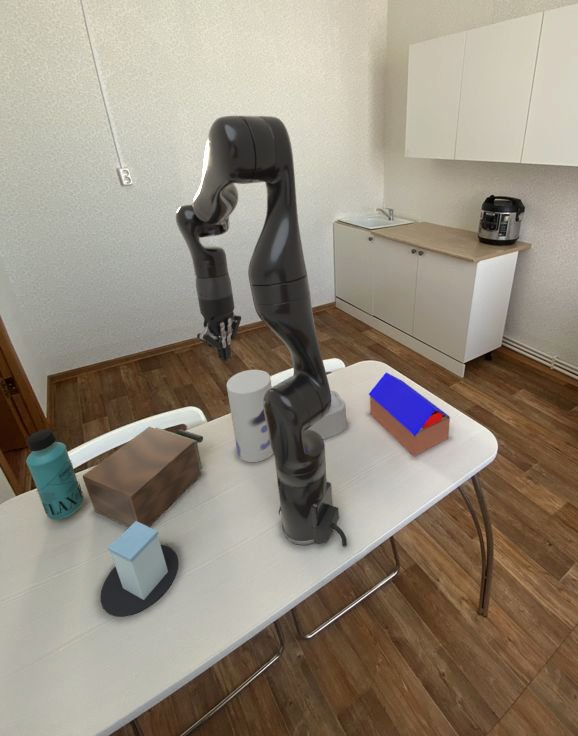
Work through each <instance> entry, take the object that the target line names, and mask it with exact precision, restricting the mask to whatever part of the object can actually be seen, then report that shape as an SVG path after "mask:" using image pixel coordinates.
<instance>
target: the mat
mask: <svg viewBox="0 0 578 736" xmlns="http://www.w3.org/2000/svg"><path fill="white" fill-rule="evenodd" d="M160 545H161V548H162V552H163V555H164V559H165V563H166V566H167V570H168V572H167V574H166V575H165V576H164V577H163V578H162V579H161V581H160V582H159V583H158V584H157V585H156V586H155V588H154V589H153V590H152V591H151V592H150V594H149V595H148V596H147V597H146V598H145V599H144V600H143V599H141V598H139V597H137V596H136V595H134V594H132V593H130V592H129V591H127V590H125V589H123V587H122V584H121V581H120V578H119V575H118V572H117V569H116V567H115V566H114V567H113V568H112V569H111V570H110V572H109V573H108V574H107V576H106V578H105V580H104V581H103V585H102V586H101V590H100V603H101V606H102V609H103V610H104V611H105V612H106V613H107V614H108V615H111V616H113V617H121V618H122V617H123V618H124V617H129V616H130V617H131V616H133V615H136V614H140V613H141V612H143V611H145V610H147V609H149V608H150V607H151V606H153V605H154V604H155V603H157V601H159V600H160V599H161V598H162V597H163V596H164V595H165V594H166V593H167V591H168V590H169V589H170V587H171V585H172V584H173V582H174V581H175V578H176V576H177V573H178V569H179V559H178V555H177V553H176V551H175V550H174V549H173V548H172V547H170V546H168V545H166V544H162V543H160Z"/></svg>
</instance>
